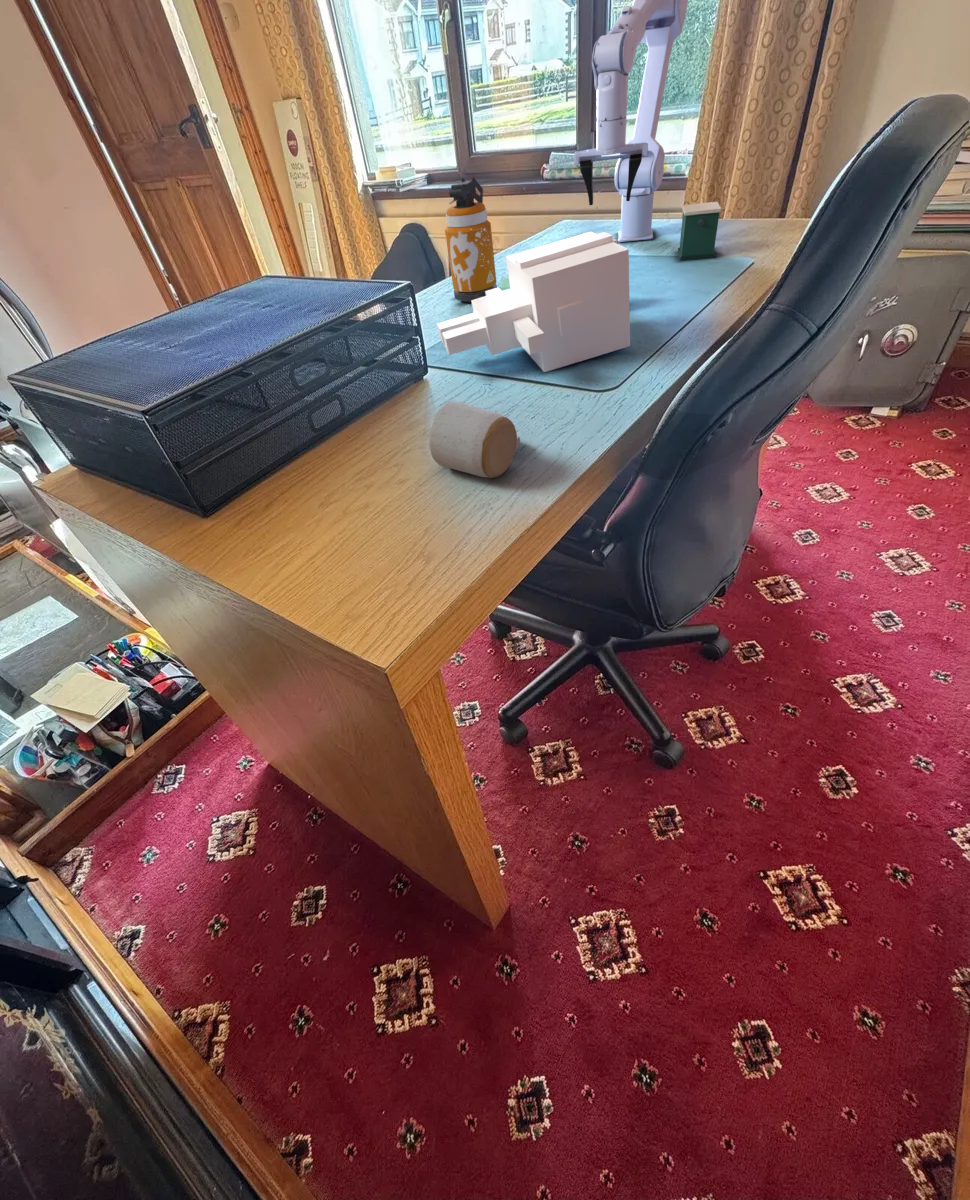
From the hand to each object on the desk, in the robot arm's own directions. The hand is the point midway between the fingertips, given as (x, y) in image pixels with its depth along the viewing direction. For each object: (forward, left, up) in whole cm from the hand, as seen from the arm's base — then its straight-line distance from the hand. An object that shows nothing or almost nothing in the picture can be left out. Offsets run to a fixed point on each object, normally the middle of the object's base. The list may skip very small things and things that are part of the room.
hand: (609, 202), depth 120 cm
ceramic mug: (+88, -12, -11) cm, 89 cm away
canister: (+21, -26, -11) cm, 35 cm away
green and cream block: (+4, +15, -6) cm, 17 cm away
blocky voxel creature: (+55, -10, -11) cm, 57 cm away
